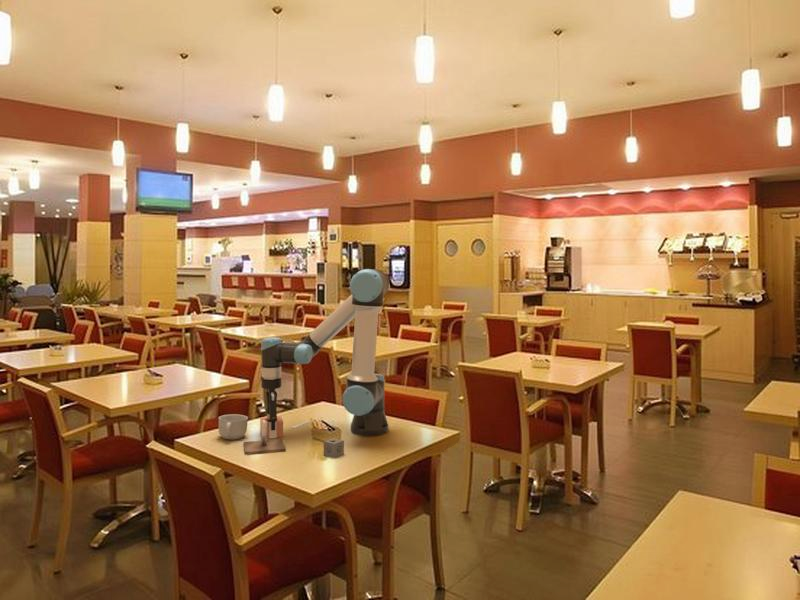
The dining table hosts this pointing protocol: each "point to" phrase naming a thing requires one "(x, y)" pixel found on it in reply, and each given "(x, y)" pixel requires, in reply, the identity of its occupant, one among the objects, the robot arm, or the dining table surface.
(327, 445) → the dice cube
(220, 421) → the teacup
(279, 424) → the pink upright block
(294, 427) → the butter knife
